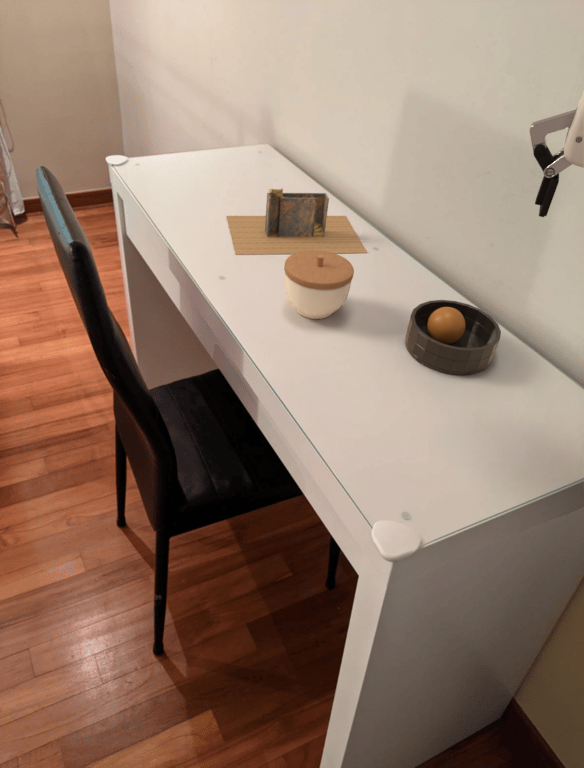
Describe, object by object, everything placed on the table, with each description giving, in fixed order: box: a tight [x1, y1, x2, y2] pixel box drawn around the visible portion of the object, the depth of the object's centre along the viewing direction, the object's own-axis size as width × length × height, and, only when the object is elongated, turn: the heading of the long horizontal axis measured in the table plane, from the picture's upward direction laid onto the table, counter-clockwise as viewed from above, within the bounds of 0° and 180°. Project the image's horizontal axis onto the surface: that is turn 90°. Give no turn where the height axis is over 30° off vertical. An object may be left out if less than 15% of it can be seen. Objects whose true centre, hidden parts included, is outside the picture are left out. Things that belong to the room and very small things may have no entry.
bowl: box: [404, 299, 502, 376], centre depth 92 cm, size 13×13×4 cm
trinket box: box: [283, 250, 355, 320], centre depth 96 cm, size 11×11×9 cm
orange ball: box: [427, 307, 466, 344], centre depth 92 cm, size 6×6×6 cm
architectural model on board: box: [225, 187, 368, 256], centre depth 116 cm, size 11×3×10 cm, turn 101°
